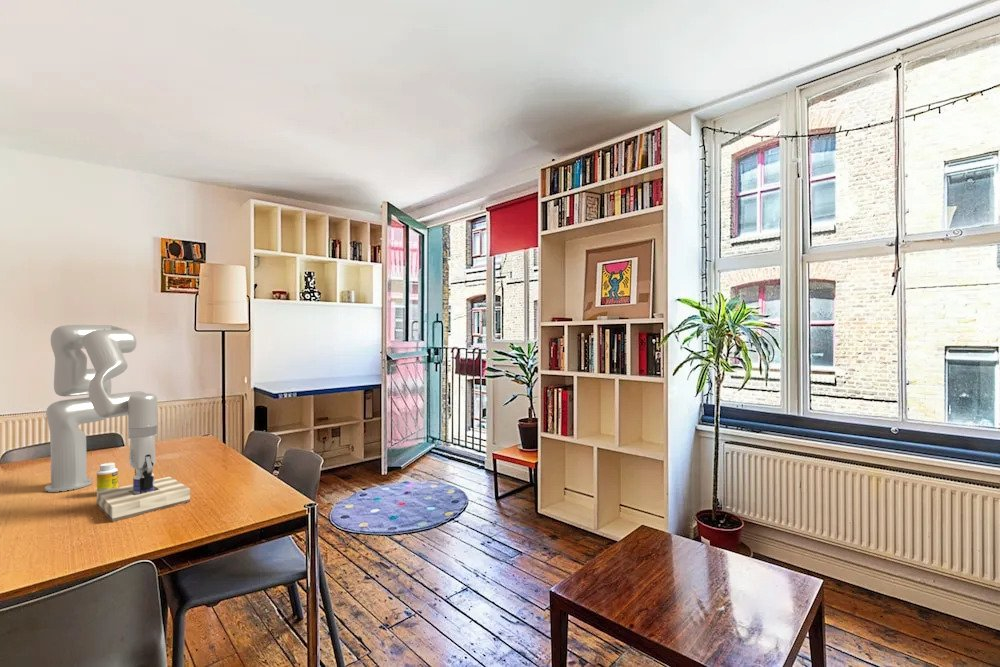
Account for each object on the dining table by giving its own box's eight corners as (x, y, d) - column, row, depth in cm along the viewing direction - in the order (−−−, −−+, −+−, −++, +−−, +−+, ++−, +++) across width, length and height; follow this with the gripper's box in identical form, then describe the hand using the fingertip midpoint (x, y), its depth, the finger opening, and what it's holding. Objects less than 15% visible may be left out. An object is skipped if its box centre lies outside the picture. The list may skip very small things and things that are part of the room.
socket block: (96, 505, 149) (96, 492, 149) (170, 489, 164) (169, 476, 164) (112, 522, 136) (112, 506, 136) (190, 502, 152) (190, 488, 152)
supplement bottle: (113, 495, 159) (113, 465, 158) (93, 497, 157) (93, 467, 157) (120, 489, 164) (120, 461, 164) (101, 491, 162) (101, 462, 162)
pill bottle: (142, 497, 147) (142, 470, 147) (129, 496, 148) (128, 469, 148) (157, 492, 152) (157, 465, 152) (144, 491, 153) (144, 464, 153)
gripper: (121, 430, 153) (122, 484, 153) (136, 438, 142) (136, 496, 142) (149, 426, 158) (149, 479, 159) (165, 433, 148) (165, 489, 148)
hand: (143, 486), depth 150 cm, fingers closed on pill bottle, 5 cm apart
